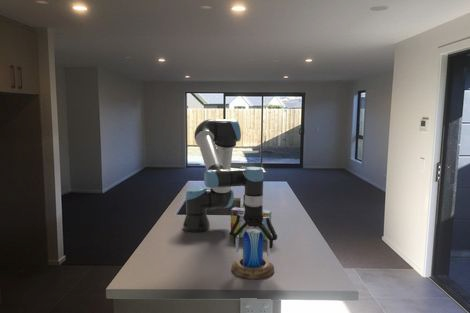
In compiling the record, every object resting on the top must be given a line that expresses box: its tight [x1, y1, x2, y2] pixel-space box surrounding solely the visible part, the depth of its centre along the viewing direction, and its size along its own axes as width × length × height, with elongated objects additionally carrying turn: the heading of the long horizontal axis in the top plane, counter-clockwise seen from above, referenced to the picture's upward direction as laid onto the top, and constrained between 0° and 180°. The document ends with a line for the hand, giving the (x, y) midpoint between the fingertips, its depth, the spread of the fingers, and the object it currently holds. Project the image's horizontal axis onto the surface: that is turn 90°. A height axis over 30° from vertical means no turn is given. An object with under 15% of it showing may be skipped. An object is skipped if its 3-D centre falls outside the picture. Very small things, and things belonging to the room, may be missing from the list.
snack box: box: [230, 206, 272, 242], centre depth 187 cm, size 21×6×15 cm, turn 71°
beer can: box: [242, 228, 264, 268], centre depth 149 cm, size 8×8×16 cm
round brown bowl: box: [231, 256, 275, 281], centre depth 150 cm, size 18×18×3 cm
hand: (252, 253), depth 149 cm, fingers open, 13 cm apart
